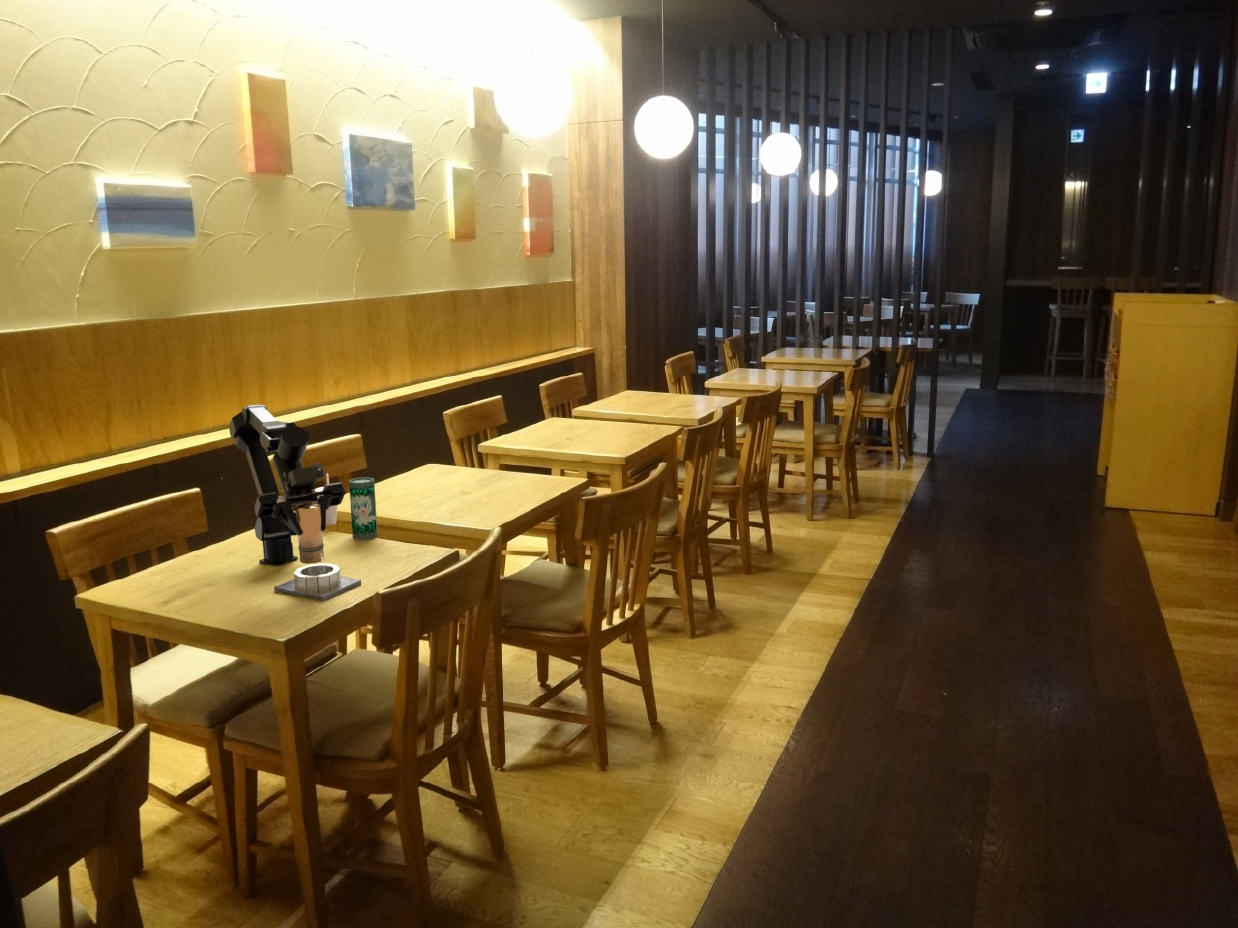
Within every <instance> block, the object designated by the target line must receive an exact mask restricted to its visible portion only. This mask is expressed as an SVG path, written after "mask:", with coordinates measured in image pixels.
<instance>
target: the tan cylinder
mask: <svg viewBox="0 0 1238 928" xmlns="http://www.w3.org/2000/svg"><path fill="white" fill-rule="evenodd" d="M295 512H296V515H297V523H298V525H299V528H300V531H301V535H300V536H298V535H297V537H298V539H297V541H298V546H297V547H298V553H299V562H300V563H301V564H305V565H306V564H308V565H313V564H319V563H321V562H323V561H324V560H325V555H324V553H325V552H324V547H325V546H324V539H323V531H322V524H321V510H320V505H318V504H316V503H303V504H298V505H297V506H296V507H295Z"/></svg>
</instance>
